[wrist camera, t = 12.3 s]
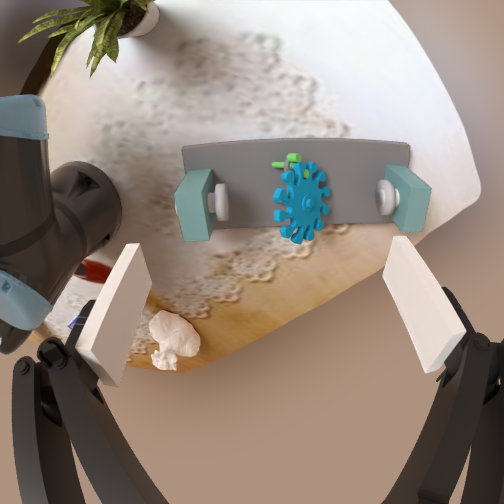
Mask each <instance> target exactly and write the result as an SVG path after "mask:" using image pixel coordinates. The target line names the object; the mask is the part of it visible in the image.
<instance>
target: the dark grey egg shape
mask: <svg viewBox="0 0 504 504" xmlns="http://www.w3.org/2000/svg"><path fill="white" fill-rule="evenodd" d="M32 331H33V330H22V329H19V328H17V327H14V326H12V325H10V324H8V323H7V322H5V321H4V320H2V319H1V318H0V352H1V353H2V354H5V355H7V354H10V353H12V352H14V351H15V350H16V349H18V348H19V347H20V346H21V345H22V344H23V343H24V342H25V341H26V340H27V338H28V337H29V336H30V334H31V333H32Z"/></svg>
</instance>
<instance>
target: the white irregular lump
mask: <svg viewBox="0 0 504 504" xmlns="http://www.w3.org/2000/svg"><path fill="white" fill-rule="evenodd" d="M149 331H150V333H151V335H152V337H153V338H154V340H156V341H157V342H159V345H160V352H158V351H157V350H155V352H154V354H152V355H151V357H152V360H153V365H154V366H156V367H157V368H158V369H160V370H172V369H173V370H177V369H176V366H177V364H175V363H176V362H177V360H178V358H177V356H176V355H175V354H178V355H179V356H187V357H192V356H195V355H196V354H197V352H198V351H199V346H200V336H199V334H198V333H197V332H196V331H195V330H194V328H193V326H192V324H191V323H189V322H188V321H186V320H185V319H184V318H182V317H180V316H179V315H178V314H173V313H170V312H167V311H165V310H161V311H159V312H158V313H157V314H156V315H155V316H154V317H153V318H152V320H151V321H150V322H149Z"/></svg>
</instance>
